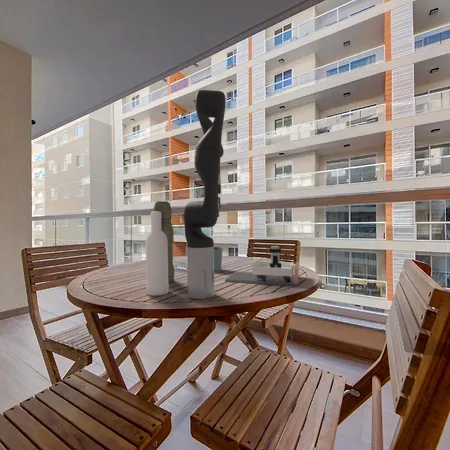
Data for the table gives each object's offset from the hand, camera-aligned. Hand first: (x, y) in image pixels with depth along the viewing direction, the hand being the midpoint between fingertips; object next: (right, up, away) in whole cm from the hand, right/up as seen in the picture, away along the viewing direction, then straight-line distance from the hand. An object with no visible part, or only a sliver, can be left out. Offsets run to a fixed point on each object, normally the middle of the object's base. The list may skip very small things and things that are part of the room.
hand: (213, 217), depth 126 cm
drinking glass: (-1, -28, +10) cm, 30 cm away
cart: (+27, -27, -14) cm, 41 cm away
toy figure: (+27, -24, -14) cm, 39 cm away
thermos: (-21, -29, -15) cm, 39 cm away
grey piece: (+22, -28, -13) cm, 38 cm away
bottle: (-19, -29, -32) cm, 47 cm away
